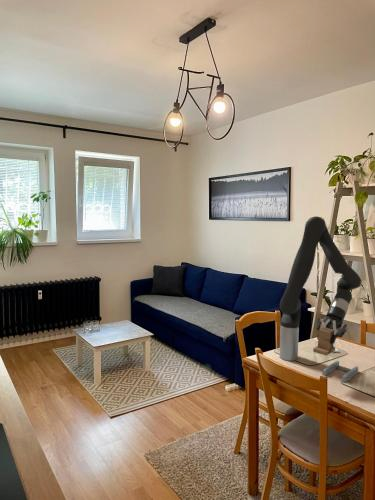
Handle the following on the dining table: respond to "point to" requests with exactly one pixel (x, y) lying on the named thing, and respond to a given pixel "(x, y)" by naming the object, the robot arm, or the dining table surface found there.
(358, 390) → the dining table surface
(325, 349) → the walnut block
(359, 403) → the dining table surface
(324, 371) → the channel
